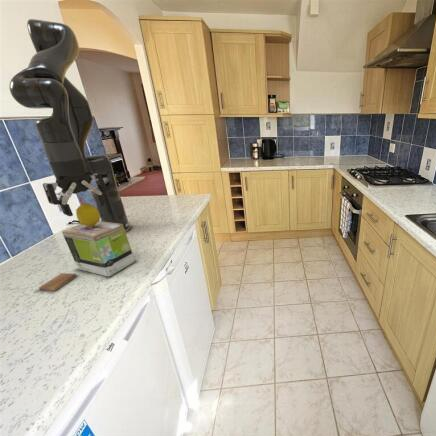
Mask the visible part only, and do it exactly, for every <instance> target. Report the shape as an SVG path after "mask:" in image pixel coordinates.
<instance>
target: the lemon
mask: <svg viewBox="0 0 436 436" xmlns="http://www.w3.org/2000/svg"><path fill="white" fill-rule="evenodd" d="M82 203H83V204H80V205H79V206H78V207H77V208H76V209H77V210H76V209H75V215H76V219H77V220H78V221H79V222H80V223H79V222H78V223H79V224H83V225H86V226H91V227H93V226H94V225H95V224H96V223H98V221H101V218H100V214H99V211H98V210H97V207H96V205H93V204H90V203H86V202H82Z"/></svg>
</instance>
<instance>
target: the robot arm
mask: <svg viewBox="0 0 436 436" xmlns="http://www.w3.org/2000/svg"><path fill="white" fill-rule="evenodd" d="M26 27H27V31H28V36H29V38H30V40H31V43H32V45H33V48H34V50H35V51H36V53H35V54H34V55H32V57H31V58H30V60H29V63H28V66H27V67H26V68H23V69H22V70H21V71H19V72H17V73H16V74H14V75H13V76H12V78H11V79H10V81H9V86H8V87H9V88H8V89H9V92H10V95H11V97H12V98H13V100H15V101H16V102H17V103H18V104H19V105H21V106H22V107H24V108H27V109H32V110H33V109H34V110H35V109H37V110H39V109H52V113H51V115H50V116H48V117H43V118H39V119H36V120H35V121H34V126H35V129H36V132H37V133H38V136H39V139H40V141H41V143H42V146H43V151H44V154H45V156H46V158H47V161H48V163H49V166H50V168H51V170H52V173H53V175H54V177H55V182H44V183H42V187H43V190H44V193H45V196H46V198H47V201H48V203H49V204H51V205H54V206H58V205H59V207H60V209H61V212H62V213H63V215H65V216H67V217H73V216H74V214H73V211H72V209H71V207H70V204H69V200H70V198H71V197H72V195H76V194H79V193H83V192H87V191H88V192H90V194H91V196H92V199H93V202H94V204H95V207H96V208H97V210H98V211H99V214H100V221H104V222H111V223H119V224H123V226H124V229H125V232H128V231H130V230H131V226H130V223H131V222H130V221H129V219H128V216H127V213H126V210H125V206H124V203H123V201H122V197H121V194H120V191H119V188H118V185H117V181H116V176H115V173H114V169H113V165H112V163H111V160H110V158H109V157H108V156H107V155H105V154H94V155H87V156H86V153H85V149H86V144H87V143H86V142H87V140H88V138H89V135H90V133H91V130H92V128H93V126H94V116H93V113H92V110H91V106H90V103H89V101H88V99H87V98H86V96H84V94H83V93H82V92H81V91H80V90H79V89H78V88H77V87H76V86H75V85H74V84H73V83H72V82H71V81H70V80H69V79H68V78H67V77H66V73H67V71H68V70H69V68H70V67H72V65H73V63H75V61H76V60H77V59H78V57H79V54H80V46H79V45H80V44H79V41H78V39H77V36H76V34H75V32H74V30H73V29H72V28H71V27H70V26H69V25H68V24H64V23H61V22H55V21H50V20H49V21H48V20H42V19H36V18H35V19H34V18H30V19H28V20H27V22H26ZM92 181H93V182H95V184H96V186H94V185H92V184H91V182H92ZM57 187H58V188H60V189H61V190H60V191H59V196H58V197H57V194H56V191H57ZM71 221H72V220H71ZM72 223H79V224H81V223H80V222H79V220H78V219H73V221H72V222H70V221H68V225H71V224H72Z"/></svg>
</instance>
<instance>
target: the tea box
mask: <svg viewBox="0 0 436 436" xmlns="http://www.w3.org/2000/svg"><path fill="white" fill-rule="evenodd" d="M126 232H127V231H126ZM126 232H125V229H124V226H123V224H119V223H111V222H104V221H101V220H99V221H98V223H96V224H95V225H94V226H93V227H91V226H86V225H83V224H82V223H79V224H77V225H74V226H72V227H69V228H66V229H64V230H61V233H62V235H63V238H64V240H65V242H66V245H67V247H68V249H69V252H70V254H71V256H72V259H73V261H74V263H75V266H76V267H77V269H78V270H81V271H85V272H88V273H92V274H97V275H100V276H104V277H108V278H109V277H111V276H113V275H115V274H116V273H118V272H120V271H122V270H123V269H125V268H127V267H129V266H130V265H132V264H133V263H134V262H135V257H134V254H133V251H132V248H131V244H130V241H129V238H128V236H127V233H126Z"/></svg>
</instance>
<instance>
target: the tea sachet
mask: <svg viewBox="0 0 436 436" xmlns="http://www.w3.org/2000/svg"><path fill="white" fill-rule="evenodd" d="M76 277H77V274H76V273H59V274H58V275H56V276H55V277H53V278H52V279H50V280H48V281H47V282H45V283H43V284H42V285H41V286H39V287H38V288H39V290H40V291H54V292H55V291H57V290H59V289H60V288H62V287H64V285H66V284H68V283H69V282H70V281H72V280H74V279H75V278H76Z"/></svg>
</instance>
